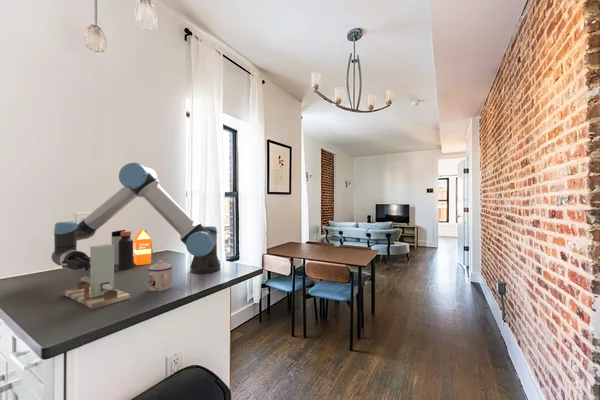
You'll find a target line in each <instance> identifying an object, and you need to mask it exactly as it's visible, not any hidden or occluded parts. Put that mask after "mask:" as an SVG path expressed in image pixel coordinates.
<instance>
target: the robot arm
mask: <svg viewBox="0 0 600 400" xmlns="http://www.w3.org/2000/svg"><path fill="white" fill-rule="evenodd" d="M118 180H119V183H120V184H121V185H122V186H123V187H122V188H121V189H119V190H117V192H115V193H114V194H113V195H112V196H110V197H109V198H108V199H107V200H105V202H103V203H102V204H100V206H98V207H97V208H96V209H95V210H93V211H92V212H91V213H90V214H88V215H87V216H86V217H85V218H84V219H83V220H82V221H80V222H79V223H78V224H77V222H76V221H57V222H55V224H54V230H53V236H54V241H53V242H54V248H53V249H54V250H53V252H52V254H51V255H50V256H51V257H50V258H51V260H52V262H53V263H54V264H56V266H57V265H58V266H61V268H62V269H71V270H74V271H77V270H83V269H84V270H85V271H89V270H90V256H88V255H87V253H85V252H83V251H80V250H77V244H78V243H77V242H78V241H81V240H87V239H89V238H92V237H94V236H95V235H96V232H97V230H98V229H100V228H101V227H102V226H104V225H105V224H107V222H108V221H109V220H111V219H112V218H113V217H115V216H116V215H117V214H119V212H120V211H121V210H123V209H124V208H125V207H126V206H128V205H129V204H131V202H133V201H135V199H136V198H137V197H138V198H143V199H144V200H145V201H147V202H148V203H149V205H150V206H151V207H153V209H154V210H155V211H156V212H157V213H158V214H159V215H160V216H161V217H162V218H163V219H164V220H165V221H166V222H167V223H168V224H169V225H170V226H171V227H172V228H173V229H174V230H175V231H176V232H177V233H178V234H179V235H180V236H179V238H180V239H179V240H180V241H181V242H182V243H183V244H184V245H185V248H186V250H187V252H188V254H190V255H192V256H193V257H192V261H191V263H190V266H189V267H190V268H189V272H190V273H193V274H209V273H210V274H211V273H215V272H218V271H220V270H221V263H220V260H219V257H218V242H217V241H218V240H217V239H218V236H217V235H218V230H217V227H216V226H211V225H207V226H206V225H202V223H200V222H195V221H194V220H193V219H192V218H191V216H189V215H188V214H187V212H186V211H184V209H182V208H181V206H180V205H179V204H178V203H177V202H176V201H175V200H174V199H173V198H172V197H171V196H170V195H169V194H168V193H167V192H166V191H165V190H164V189H163V188H162V187H161V186H160V180H159V179H158V176H157V173H156V171H155V170H154V169H153V168H152V167H149V166H147V165H144V164H141V163H139V162H129V163H126V164H125V165H123V166H122V167H121V168H120V170H119V172H118Z"/></svg>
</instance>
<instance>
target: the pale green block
mask: <svg viewBox="0 0 600 400" xmlns="http://www.w3.org/2000/svg"><path fill="white" fill-rule="evenodd" d="M89 247H90V251H89V253H90V254H89V257H90V268H89V270H90V274H89V276H90V277H89V278H90V286H91V295H92V296H94V297H97V296H101V295H104V292H108V291H107V290H104V289H100V284H101V283H106V284H108V285H111V286H114V287H115V266H114V245H112V243H110V244H109V243H108V244H100V245H99V244H98V245H91V246H89Z"/></svg>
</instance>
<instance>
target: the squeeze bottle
mask: <svg viewBox="0 0 600 400" xmlns="http://www.w3.org/2000/svg"><path fill="white" fill-rule="evenodd" d="M147 230H148V229H147ZM147 230H146V229H145V230H144V231H145V232H146V234H147V235H148V236H149V237H150V238H151V236H150V235H149V234H148V231H147ZM152 242H153V241H152V240H151V257H153V253H154V251H153V243H152Z"/></svg>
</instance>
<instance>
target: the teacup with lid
mask: <svg viewBox="0 0 600 400" xmlns="http://www.w3.org/2000/svg"><path fill="white" fill-rule="evenodd" d="M147 270H148V290H149V291H151V292H161V291H167V290H169V289H171V288H172V286H173V283H172V282H173V281H172V279H173V276H172V275H173V273H172V272H173V271H172V270H173V265H172V264H169V263H167V262H164V260H163V259H161V260H158V261H157V262H156V263H154V264H153V265H150V266H149V267H148V269H147Z"/></svg>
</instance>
